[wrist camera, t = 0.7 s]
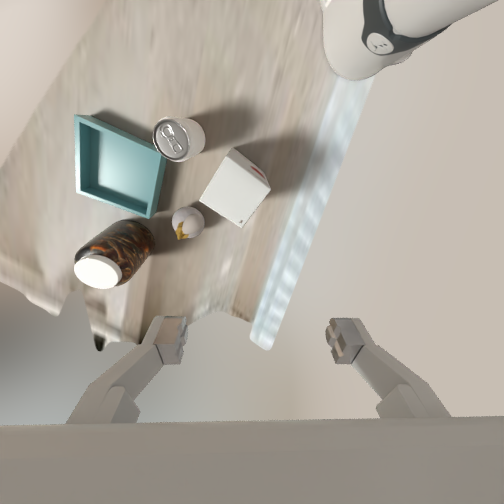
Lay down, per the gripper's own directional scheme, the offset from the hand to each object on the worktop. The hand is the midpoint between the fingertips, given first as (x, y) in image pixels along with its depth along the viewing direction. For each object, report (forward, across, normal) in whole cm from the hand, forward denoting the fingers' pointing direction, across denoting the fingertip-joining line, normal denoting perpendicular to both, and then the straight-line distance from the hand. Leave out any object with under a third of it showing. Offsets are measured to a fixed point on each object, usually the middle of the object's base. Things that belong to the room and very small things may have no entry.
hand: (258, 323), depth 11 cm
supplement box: (+40, +2, 0) cm, 40 cm away
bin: (+40, +27, 0) cm, 48 cm away
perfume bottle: (+40, +14, +10) cm, 43 cm away
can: (+40, +12, -7) cm, 42 cm away
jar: (+40, +31, +18) cm, 54 cm away
